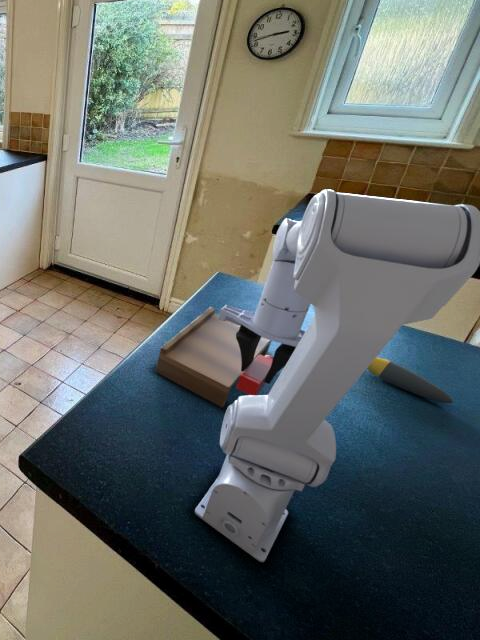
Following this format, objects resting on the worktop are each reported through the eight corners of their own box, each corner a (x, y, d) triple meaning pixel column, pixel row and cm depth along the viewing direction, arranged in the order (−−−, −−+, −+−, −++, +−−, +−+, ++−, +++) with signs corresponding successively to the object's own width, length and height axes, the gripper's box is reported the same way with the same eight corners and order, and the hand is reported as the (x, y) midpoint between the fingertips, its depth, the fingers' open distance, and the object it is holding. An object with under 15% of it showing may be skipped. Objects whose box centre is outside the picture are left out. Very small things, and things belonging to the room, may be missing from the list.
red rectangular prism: (254, 397, 63) (259, 384, 62) (235, 388, 65) (240, 374, 64) (276, 370, 69) (281, 357, 68) (257, 362, 71) (262, 349, 69)
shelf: (222, 407, 71) (231, 382, 68) (155, 371, 79) (160, 347, 77) (266, 354, 83) (275, 331, 81) (204, 328, 92) (211, 306, 89)
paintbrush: (451, 397, 72) (466, 375, 70) (447, 411, 70) (462, 388, 68) (314, 343, 87) (323, 323, 85) (306, 352, 84) (315, 332, 82)
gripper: (355, 312, 57) (320, 388, 63) (240, 275, 67) (219, 343, 73) (342, 332, 53) (306, 410, 59) (222, 289, 63) (201, 359, 69)
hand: (257, 374), depth 66 cm, fingers closed on red rectangular prism, 3 cm apart
